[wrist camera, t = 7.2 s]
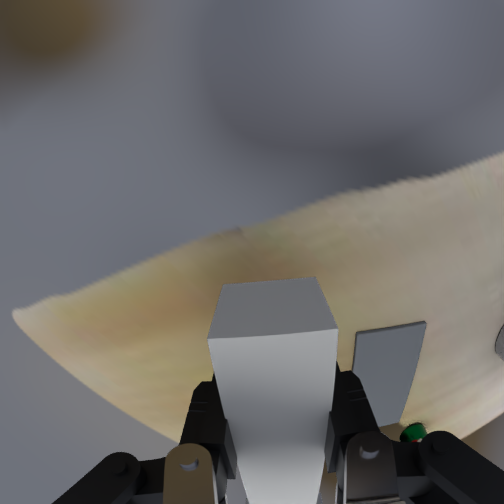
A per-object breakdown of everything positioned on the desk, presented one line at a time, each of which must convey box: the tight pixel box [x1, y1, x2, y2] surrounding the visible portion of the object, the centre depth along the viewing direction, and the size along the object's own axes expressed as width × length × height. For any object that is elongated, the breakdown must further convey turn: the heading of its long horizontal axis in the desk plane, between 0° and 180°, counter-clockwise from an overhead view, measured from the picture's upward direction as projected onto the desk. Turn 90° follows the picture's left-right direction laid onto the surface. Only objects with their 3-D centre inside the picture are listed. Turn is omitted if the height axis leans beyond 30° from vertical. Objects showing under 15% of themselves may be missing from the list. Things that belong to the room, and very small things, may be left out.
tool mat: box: [352, 321, 427, 427], centre depth 36 cm, size 10×20×1 cm, turn 5°
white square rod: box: [207, 277, 338, 504], centre depth 10 cm, size 5×17×3 cm, turn 6°
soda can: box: [399, 424, 427, 442], centre depth 34 cm, size 5×5×12 cm
